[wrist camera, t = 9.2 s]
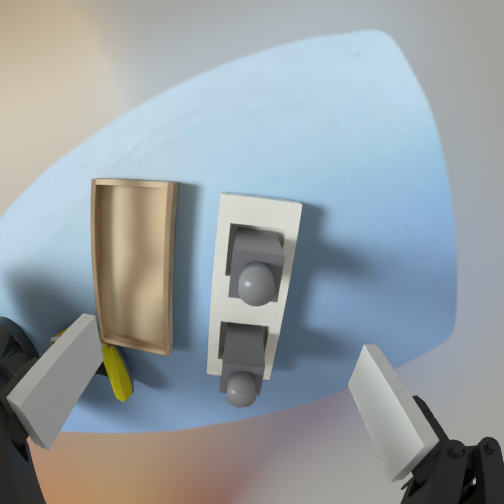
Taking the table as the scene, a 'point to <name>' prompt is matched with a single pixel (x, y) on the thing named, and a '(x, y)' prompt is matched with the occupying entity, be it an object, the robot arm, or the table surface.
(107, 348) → the gaming controller
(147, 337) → the tray
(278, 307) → the strip
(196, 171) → the table surface
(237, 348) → the twin plug
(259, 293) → the plug
